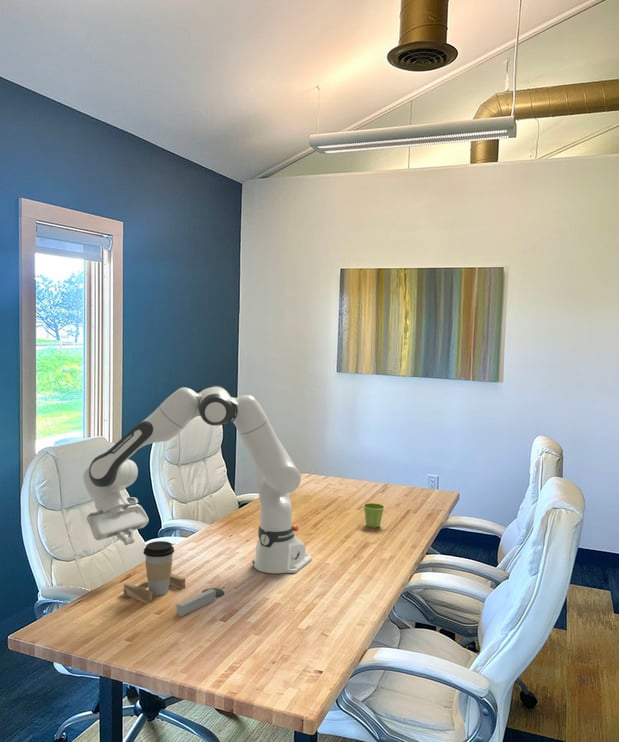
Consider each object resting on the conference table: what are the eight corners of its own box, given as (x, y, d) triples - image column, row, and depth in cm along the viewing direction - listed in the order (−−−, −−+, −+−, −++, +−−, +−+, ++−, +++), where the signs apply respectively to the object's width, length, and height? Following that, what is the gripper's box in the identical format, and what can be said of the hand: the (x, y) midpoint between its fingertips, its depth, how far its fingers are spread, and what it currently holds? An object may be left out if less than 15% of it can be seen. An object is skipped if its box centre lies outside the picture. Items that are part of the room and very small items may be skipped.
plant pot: (383, 523, 274) (384, 503, 273) (384, 529, 265) (385, 509, 264) (362, 521, 275) (363, 502, 274) (362, 528, 265) (363, 508, 265)
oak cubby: (161, 578, 206) (162, 569, 206) (185, 587, 200) (185, 578, 199) (123, 593, 193) (124, 584, 193) (147, 603, 187) (147, 594, 187)
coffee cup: (178, 588, 199) (179, 542, 198) (164, 600, 190) (165, 552, 189) (152, 584, 201) (153, 538, 200) (136, 595, 192) (137, 548, 191)
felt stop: (210, 598, 192) (210, 588, 192) (215, 600, 191) (215, 590, 191) (176, 614, 181) (177, 604, 181) (181, 616, 180) (181, 606, 179)
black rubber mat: (212, 586, 201) (212, 586, 201) (228, 592, 197) (228, 592, 197) (196, 594, 195) (196, 593, 195) (213, 600, 191) (213, 599, 191)
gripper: (89, 509, 197) (108, 546, 192) (140, 497, 214) (158, 530, 209) (80, 520, 200) (98, 557, 195) (131, 507, 217) (149, 540, 212)
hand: (130, 543), depth 202 cm, fingers closed
